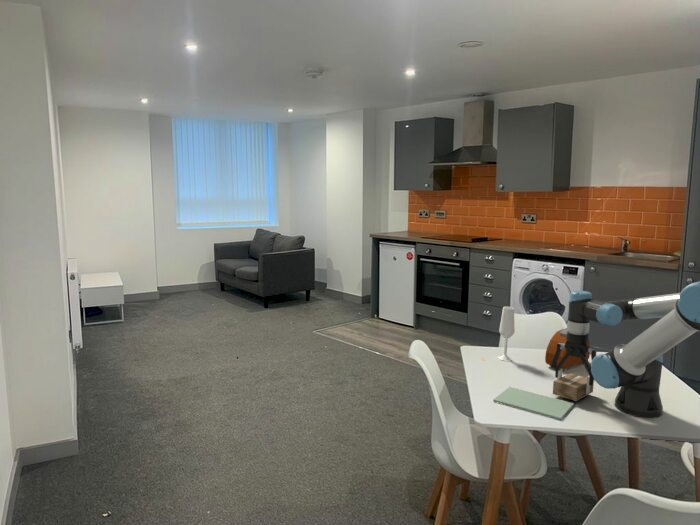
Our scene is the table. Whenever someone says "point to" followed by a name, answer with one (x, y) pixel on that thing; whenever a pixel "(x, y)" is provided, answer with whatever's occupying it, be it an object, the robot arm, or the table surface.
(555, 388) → the cardboard box
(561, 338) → the orange toaster
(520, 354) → the table surface
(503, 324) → the champagne flute
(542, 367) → the table surface
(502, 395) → the rubber mat
